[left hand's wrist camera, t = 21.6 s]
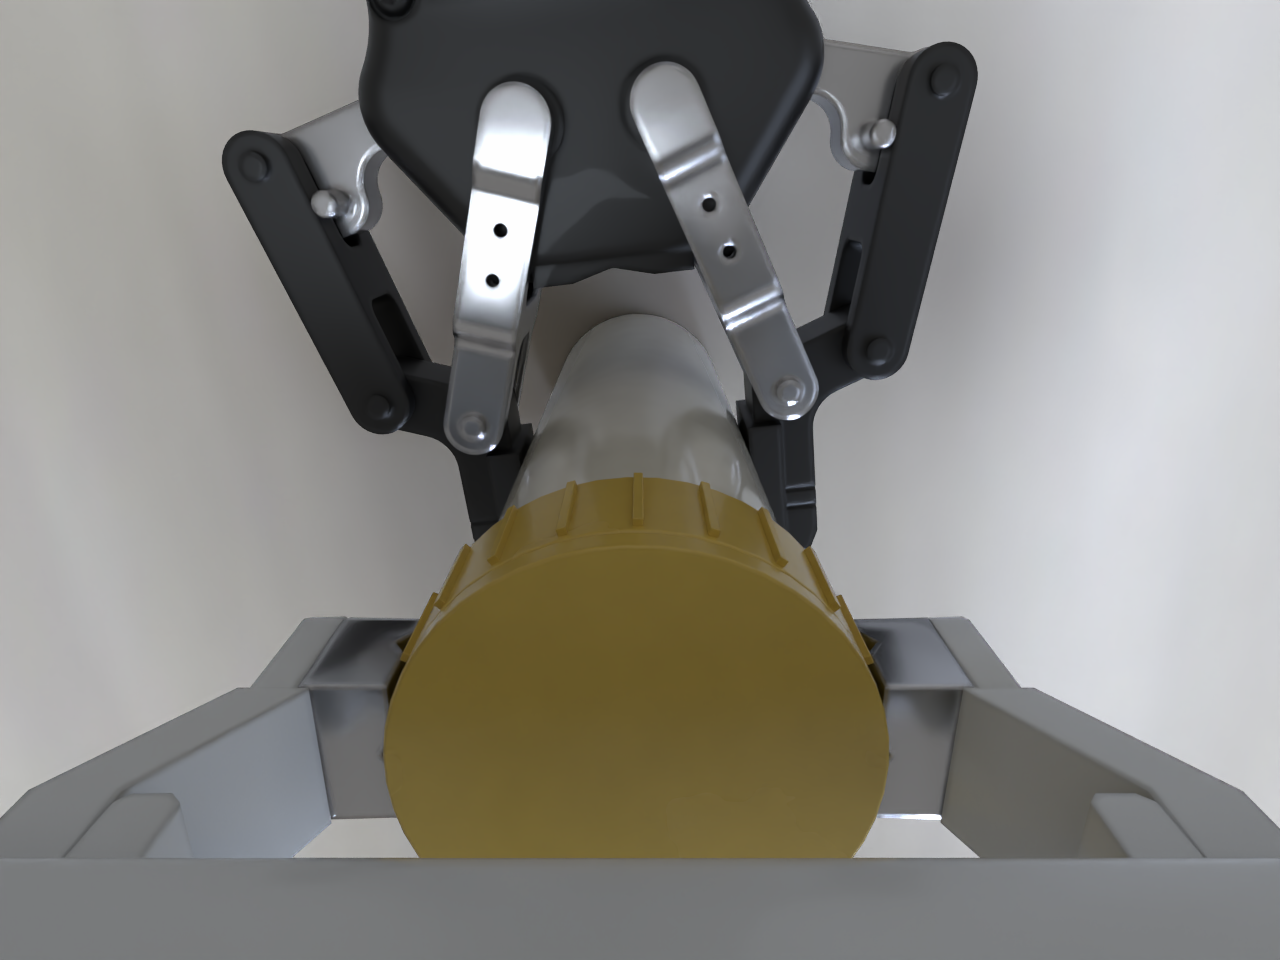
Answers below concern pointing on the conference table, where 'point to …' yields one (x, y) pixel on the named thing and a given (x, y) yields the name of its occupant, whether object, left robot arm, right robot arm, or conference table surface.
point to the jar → (638, 416)
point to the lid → (636, 688)
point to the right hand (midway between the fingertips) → (652, 573)
